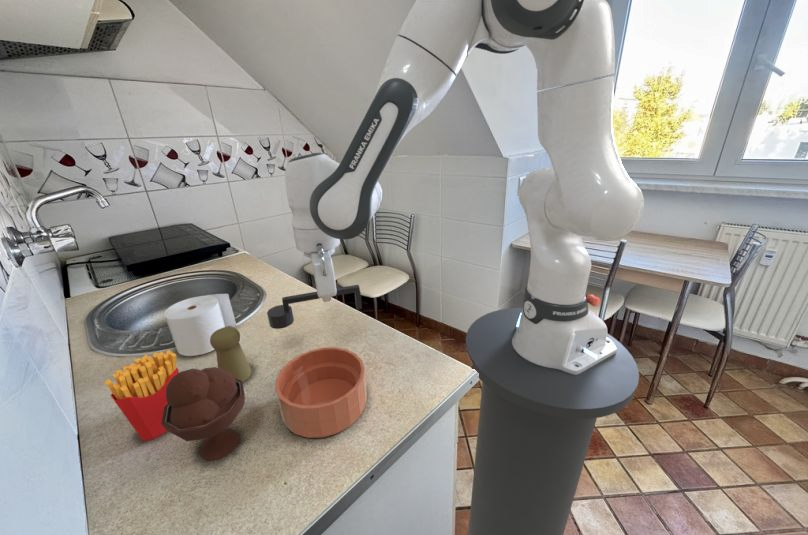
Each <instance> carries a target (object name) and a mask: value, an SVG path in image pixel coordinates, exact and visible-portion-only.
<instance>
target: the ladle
mask: <svg viewBox="0 0 808 535" xmlns="http://www.w3.org/2000/svg"><path fill="white" fill-rule="evenodd" d="M336 288H337V294H336V295H335V296H334V297H336V296H342V295H343V296H344V295H348V294H354V301H355V308H356V310H357V311H359V310H362V309H363V304H362V293H361V288H360V285H359V284H354V285H347V286H341V287H336ZM320 299H321V298H319V297H318V295H317V291H312V292H305V293H300V294H294V295H288V296H283V297H282V298H281V301H282V304H279V305H276V306H273V307H271V308H269V309H268V310H267V312H266V315H267V319H268V324H269V327H270V328H271V329H275V330H280V329H281V330H282V329H285V328H287V327H289V326H292V324H294V321H295V317H294V313H293V308H292V306H291V304H296V303H297V304H298V303H302V302H308V301H314V300H320Z"/></svg>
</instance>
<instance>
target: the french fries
mask: <svg viewBox="0 0 808 535" xmlns="http://www.w3.org/2000/svg"><path fill="white" fill-rule="evenodd" d="M177 356H178V355H177V354H176V353H175V352H172V351H171V349H169V350H166V351H165V353H164V352H163V351H160V352H154V353H152V356H149V355H148V354H145V355H142V358H141V357H138V358H135V359H134V361H135V362H133V363H130V364H129V365H125V366H123V367H122V369H123V370H122V369H121V368H120V369H118V370H116V371H115V373H113V374H112V376H113V378H114V380H115V381H116V383H113V381H112V380H110V378H108V379H107V380H105V381H104V384H105V385H106V386H107V388H108V389H109V390H110V392H111V394H110V398H111V399H112V400H113V401H114V403H115V404H116V405H117V407H118V408H119V409H120V411H121V413H122V414H123V415H124V416H125V418H126V420H128V422H129V424H130V425H131V426H132V428H133V429H134V430H135V432H136V433H137V435H138V436H139V437H140V439H141V440H142V441H143V442H146V441H151V440H154V439H156V438H158V437H159V436H161V435H163V434H165V433H166V432H168V431H167V430H166V429H165V428H164V427H163V425H162V424H161V422H162V417H163V411H164V407H165V406H166V405H167V404H168V402H167V399H166V387H167V385H168V383H169V382H170V380H171V379H172V377H174V376H175V375H177V374H178V373H179V372H180V371H179V368H178V367H177Z"/></svg>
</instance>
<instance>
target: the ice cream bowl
mask: <svg viewBox="0 0 808 535" xmlns="http://www.w3.org/2000/svg"><path fill="white" fill-rule="evenodd" d="M244 386H245V385H244V382H243V381H242V380H239V379H237V378H234V376H233V374H231V373H230V372H228V371H226V370H224V369H221V368H218V366H217V367H215V366H213V367H205V368H203V369H198V368H190V369H186V370H185V369H184V370H182V371H179V373H178V374H177V375H175V376H174V377H172V379H171V380H170V382H169V383H168V385H167V387H166V399H167V402H168V404H167V405H166V406H165V407H164V411H163V417H162V422H161V424H162V425H163V427H164V428H165V429H166V430H167V431H166V432H169V433H171V434H173V435H174V436H176V437H178V438H180V439H182V440H184V441H185V442H192V441H199V440H205V439H206V440H205V441H204V442H203V444H202V446H201V458H202V459H205V460H207V461H208V462H211V461H217V460H218V461H219V460H222V459H223V458H225V457H227V456H228V455H229V454H231V453H232V452H234V451H235V449H236V447H237V446H238V444H239V442H240V437H239V433H238V432H237V431H235V430H233V429H232V428H229V427H231V425H232V424H234V423H233V422H234V421H235V420H236V419H237V417H238V416H239V414H240V413H241V411H242V410H243V409H244V406H245V402H246V395H245V394H246V393H245V387H244Z"/></svg>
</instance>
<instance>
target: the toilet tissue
mask: <svg viewBox="0 0 808 535" xmlns="http://www.w3.org/2000/svg"><path fill="white" fill-rule="evenodd" d="M163 314H164V319H165V321H166V323H167V327H168V329H169V332H170V334H171V337H172V340H173V343H174V346H175V348H176V351H177V352H178V354H180V355H181V356H184V357H196V356H201V355H205V354H208V353H210V352H213V351H214V350H215V349H214V348H213V347H212V346H211V343H210V337H211V335H212V334H213V333H214V332H215V331H216V330H218V329H221V328H224V327H237V321H236V318H235V313H234V311H233V307H232V304H231V300H230V295H229V293H215V294H212V293H211V294H205V295H199V296H194V297H189V298H186V299H184V300H180V301H178V302H176V303H174V304H172V305H170V306H169V307H168V308H167V309H166V310H165V311H164V312H163Z"/></svg>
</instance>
